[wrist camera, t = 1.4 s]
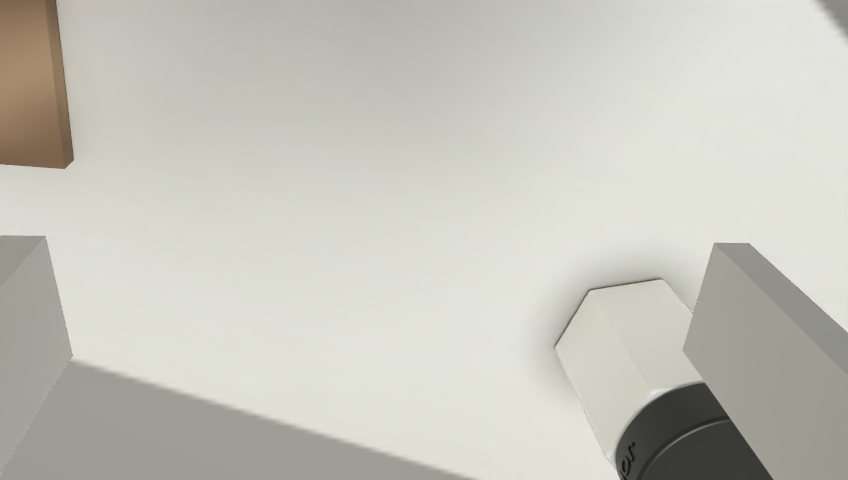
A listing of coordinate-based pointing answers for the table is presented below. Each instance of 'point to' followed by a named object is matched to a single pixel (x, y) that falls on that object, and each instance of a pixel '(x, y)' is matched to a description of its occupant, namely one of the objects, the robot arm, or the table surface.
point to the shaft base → (32, 87)
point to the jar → (650, 389)
